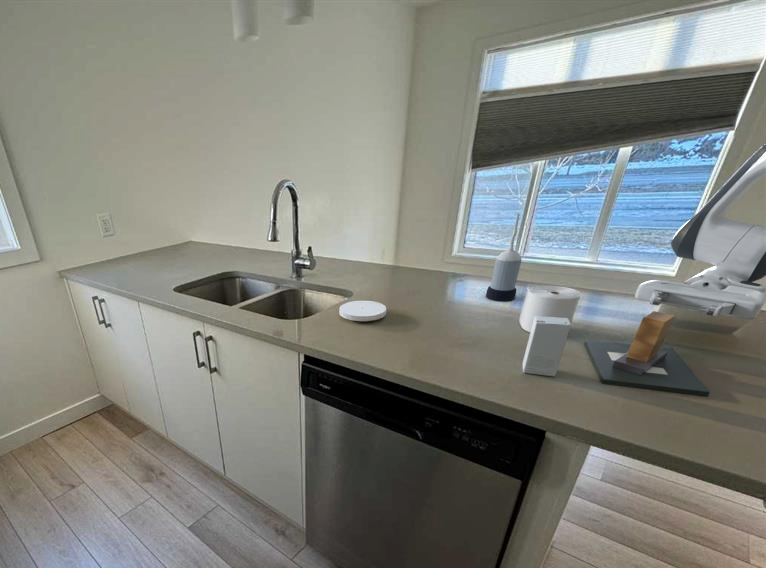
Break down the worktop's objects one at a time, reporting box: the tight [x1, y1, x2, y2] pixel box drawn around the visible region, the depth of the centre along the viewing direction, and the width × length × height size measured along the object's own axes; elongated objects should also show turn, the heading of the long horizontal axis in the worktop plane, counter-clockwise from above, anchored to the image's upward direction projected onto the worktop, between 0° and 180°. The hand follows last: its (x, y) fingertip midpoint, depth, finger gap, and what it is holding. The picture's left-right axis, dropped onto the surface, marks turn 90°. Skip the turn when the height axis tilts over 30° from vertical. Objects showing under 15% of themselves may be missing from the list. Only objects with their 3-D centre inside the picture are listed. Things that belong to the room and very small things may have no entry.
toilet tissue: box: [519, 284, 582, 334], centre depth 105 cm, size 11×12×10 cm
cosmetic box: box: [522, 316, 572, 377], centre depth 86 cm, size 6×4×12 cm
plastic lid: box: [338, 300, 387, 322], centre depth 125 cm, size 14×14×2 cm
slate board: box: [583, 339, 711, 397], centre depth 87 cm, size 16×20×1 cm
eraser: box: [612, 310, 676, 375], centre depth 84 cm, size 5×12×10 cm, turn 122°
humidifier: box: [485, 213, 526, 303], centre depth 123 cm, size 8×8×25 cm
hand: (682, 306), depth 88 cm, fingers open, 8 cm apart
